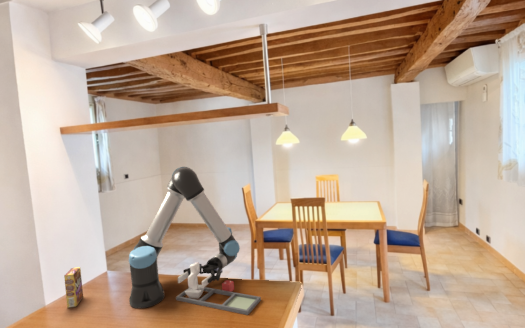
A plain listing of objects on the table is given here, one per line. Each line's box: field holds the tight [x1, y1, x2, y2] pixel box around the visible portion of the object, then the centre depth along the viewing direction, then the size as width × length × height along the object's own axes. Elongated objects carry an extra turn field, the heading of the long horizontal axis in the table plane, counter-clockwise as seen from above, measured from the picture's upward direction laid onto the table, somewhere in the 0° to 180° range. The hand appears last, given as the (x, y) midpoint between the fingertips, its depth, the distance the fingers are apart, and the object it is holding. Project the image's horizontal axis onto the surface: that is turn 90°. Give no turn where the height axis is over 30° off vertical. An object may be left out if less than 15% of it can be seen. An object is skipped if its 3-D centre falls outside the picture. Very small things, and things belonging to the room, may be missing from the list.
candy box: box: [63, 266, 84, 309], centre depth 145 cm, size 9×4×15 cm, turn 12°
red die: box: [221, 279, 235, 292], centre depth 146 cm, size 4×4×4 cm
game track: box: [175, 286, 262, 316], centre depth 138 cm, size 37×12×2 cm, turn 64°
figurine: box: [184, 261, 206, 300], centre depth 143 cm, size 7×9×15 cm
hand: (190, 282), depth 140 cm, fingers open, 13 cm apart
